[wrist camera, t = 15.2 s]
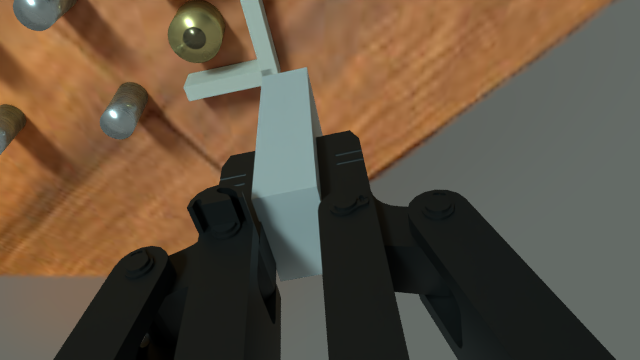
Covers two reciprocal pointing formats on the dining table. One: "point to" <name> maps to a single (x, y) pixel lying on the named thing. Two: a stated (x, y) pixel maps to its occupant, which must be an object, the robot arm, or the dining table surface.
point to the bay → (240, 73)
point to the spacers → (122, 112)
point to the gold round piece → (196, 31)
